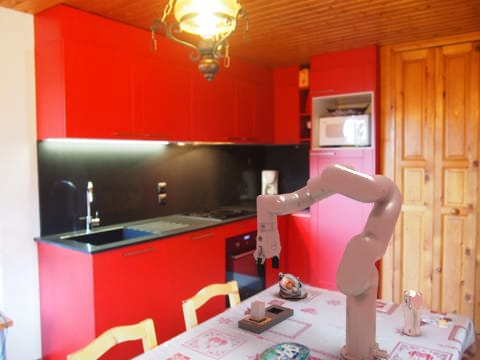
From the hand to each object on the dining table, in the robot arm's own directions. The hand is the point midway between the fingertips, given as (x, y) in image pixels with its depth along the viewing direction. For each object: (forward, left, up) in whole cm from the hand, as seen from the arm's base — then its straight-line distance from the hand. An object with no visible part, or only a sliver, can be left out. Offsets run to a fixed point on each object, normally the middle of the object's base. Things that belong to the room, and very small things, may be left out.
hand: (268, 271), depth 153 cm
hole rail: (+4, -4, -22) cm, 23 cm away
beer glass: (-44, -30, -22) cm, 58 cm away
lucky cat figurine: (+12, -37, -22) cm, 45 cm away
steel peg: (+4, +2, -22) cm, 22 cm away
